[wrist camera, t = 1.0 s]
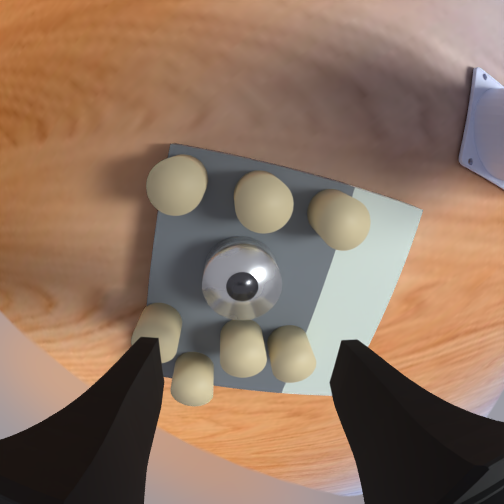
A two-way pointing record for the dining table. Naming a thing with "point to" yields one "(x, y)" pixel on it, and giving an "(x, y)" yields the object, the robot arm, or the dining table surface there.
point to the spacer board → (288, 261)
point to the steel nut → (241, 278)
